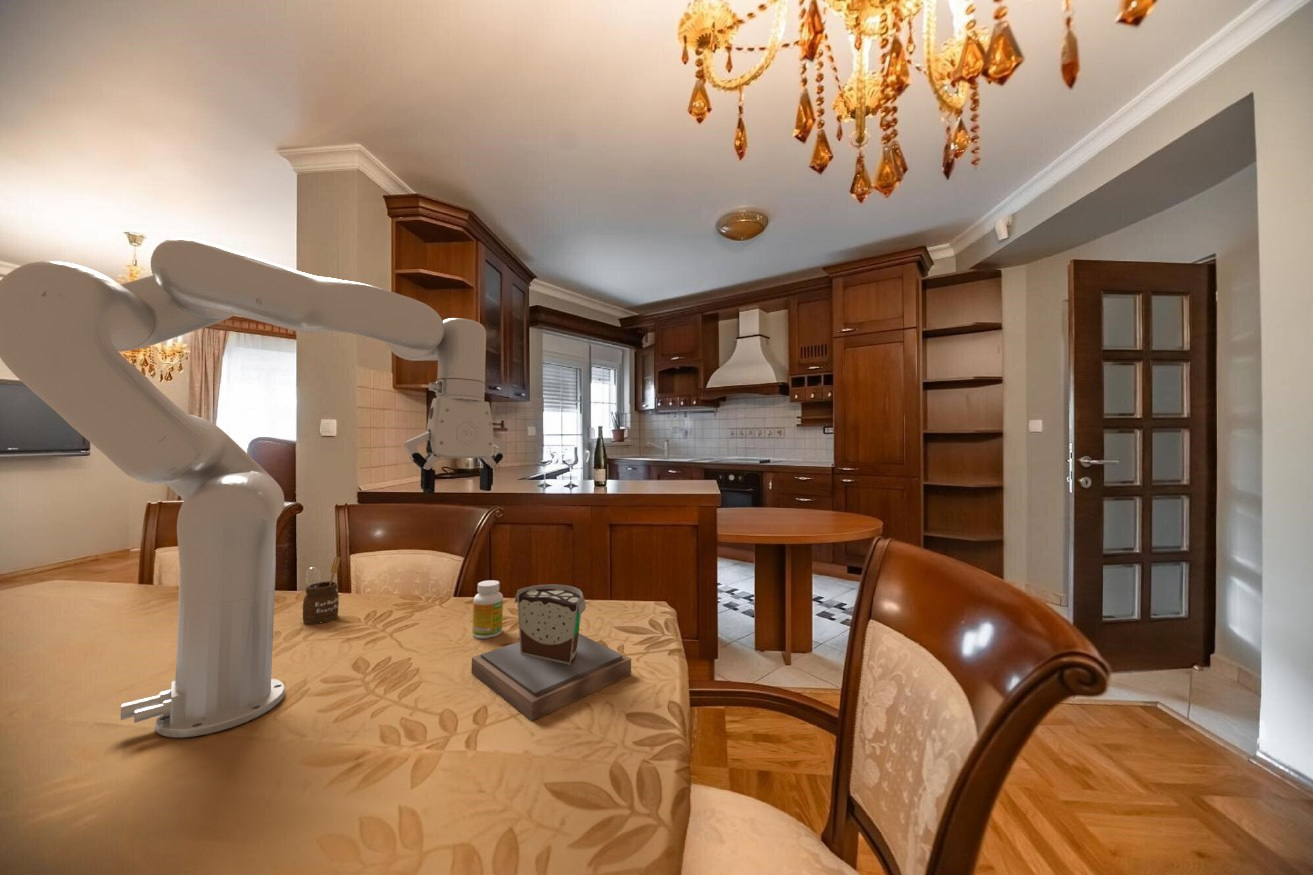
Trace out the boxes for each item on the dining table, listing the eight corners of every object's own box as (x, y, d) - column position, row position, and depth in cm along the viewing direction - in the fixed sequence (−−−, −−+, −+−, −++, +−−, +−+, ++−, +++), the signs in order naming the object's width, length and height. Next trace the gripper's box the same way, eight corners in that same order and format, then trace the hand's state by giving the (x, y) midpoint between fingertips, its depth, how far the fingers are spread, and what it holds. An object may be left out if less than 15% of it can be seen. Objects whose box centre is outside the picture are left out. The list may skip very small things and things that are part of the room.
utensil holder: (294, 622, 92) (297, 562, 92) (325, 612, 98) (327, 555, 98) (316, 626, 90) (318, 565, 90) (346, 615, 96) (348, 558, 96)
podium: (531, 721, 60) (532, 698, 61) (471, 673, 73) (471, 654, 73) (630, 674, 73) (631, 655, 74) (565, 640, 86) (565, 624, 86)
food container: (598, 650, 75) (600, 589, 75) (579, 666, 69) (580, 600, 70) (536, 637, 80) (537, 579, 80) (513, 652, 74) (514, 589, 74)
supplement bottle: (495, 639, 86) (497, 587, 86) (467, 638, 86) (469, 586, 86) (505, 628, 91) (507, 579, 91) (479, 627, 91) (480, 578, 91)
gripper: (415, 385, 70) (411, 497, 70) (518, 396, 82) (515, 491, 82) (398, 388, 75) (395, 493, 75) (497, 398, 88) (495, 487, 87)
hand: (458, 491), depth 78 cm, fingers open, 9 cm apart
